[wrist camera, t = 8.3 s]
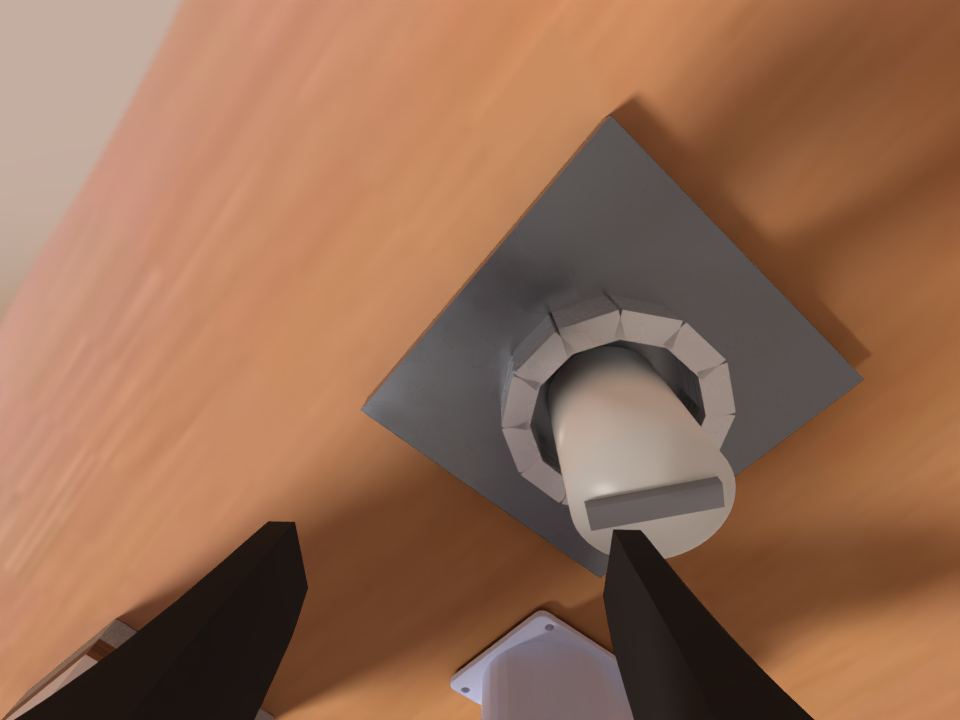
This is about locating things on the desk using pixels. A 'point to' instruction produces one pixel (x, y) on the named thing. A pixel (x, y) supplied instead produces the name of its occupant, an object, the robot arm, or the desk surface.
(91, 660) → the tall hollow white pillar
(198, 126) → the desk surface
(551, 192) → the duct base
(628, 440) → the cylinder
